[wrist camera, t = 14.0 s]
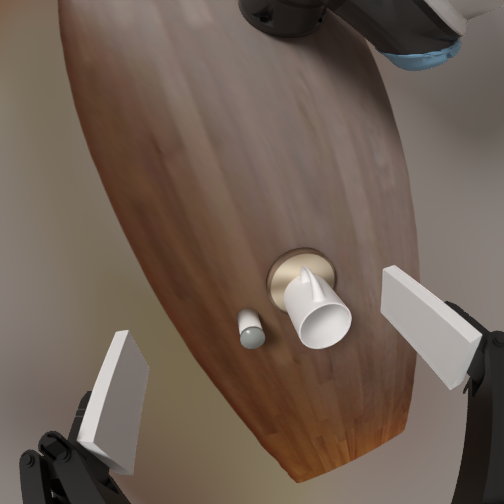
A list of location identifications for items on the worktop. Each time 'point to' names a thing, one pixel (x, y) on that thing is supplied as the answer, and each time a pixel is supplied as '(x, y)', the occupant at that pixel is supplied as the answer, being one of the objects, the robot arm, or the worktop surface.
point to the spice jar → (250, 328)
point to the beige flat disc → (296, 272)
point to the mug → (316, 310)
